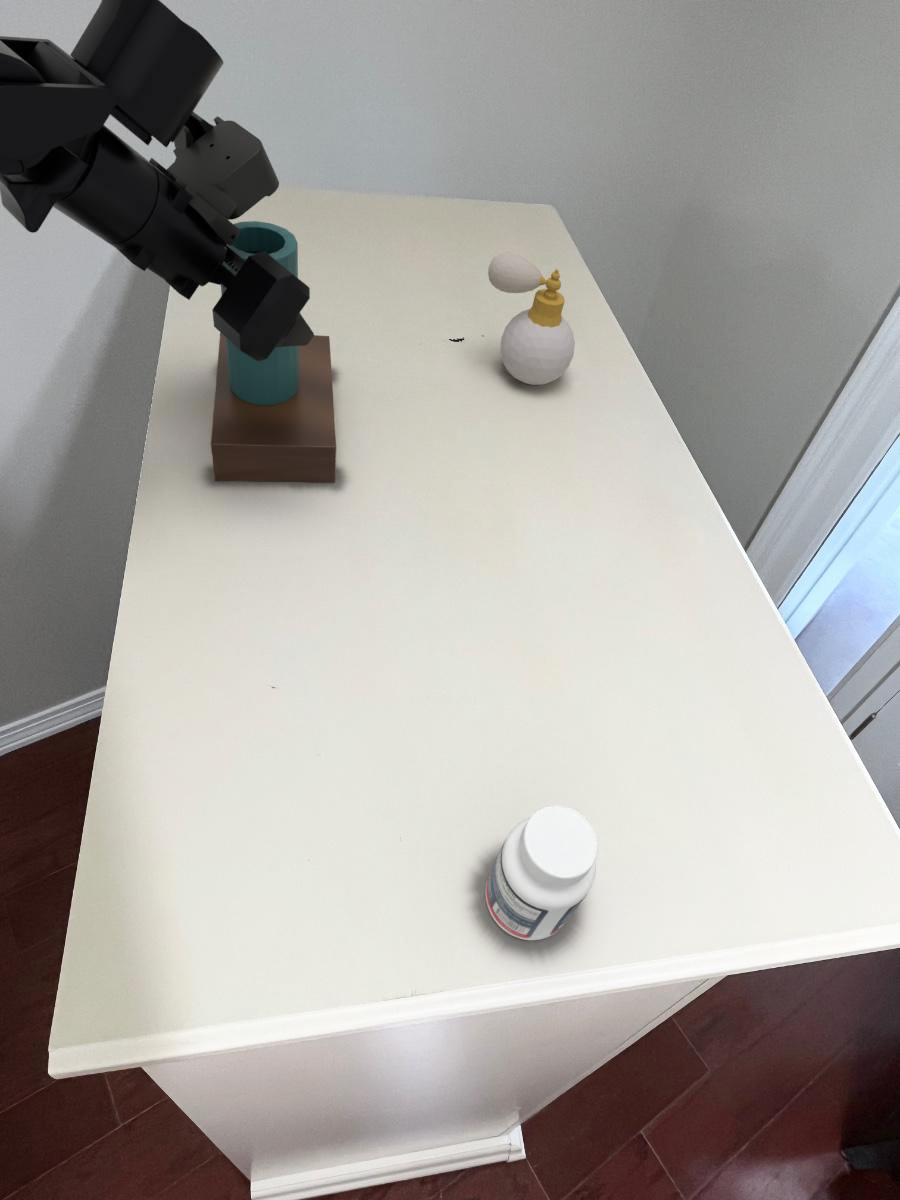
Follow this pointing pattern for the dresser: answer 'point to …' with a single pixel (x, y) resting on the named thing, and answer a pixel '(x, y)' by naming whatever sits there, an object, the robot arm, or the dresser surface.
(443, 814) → the dresser surface
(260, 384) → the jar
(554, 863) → the pill bottle
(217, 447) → the brown wooden pedestal
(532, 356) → the perfume bottle
